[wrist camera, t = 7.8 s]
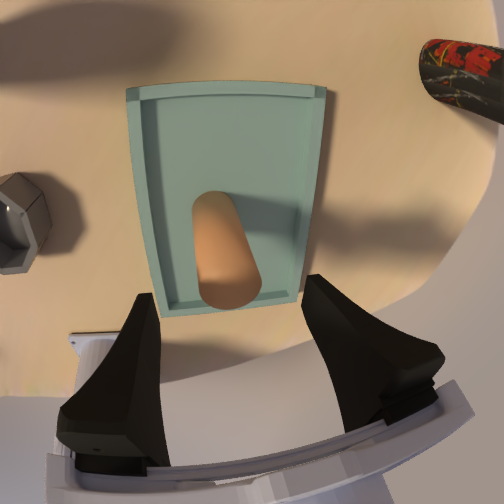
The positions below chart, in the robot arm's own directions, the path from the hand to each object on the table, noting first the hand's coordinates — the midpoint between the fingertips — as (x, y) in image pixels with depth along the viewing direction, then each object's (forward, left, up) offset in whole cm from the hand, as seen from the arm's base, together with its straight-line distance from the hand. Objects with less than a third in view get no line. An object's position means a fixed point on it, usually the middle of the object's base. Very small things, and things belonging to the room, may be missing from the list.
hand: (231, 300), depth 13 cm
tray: (0, -1, -9) cm, 9 cm away
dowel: (0, 0, -9) cm, 9 cm away
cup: (+2, +16, -9) cm, 18 cm away
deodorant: (+13, -19, -10) cm, 25 cm away
